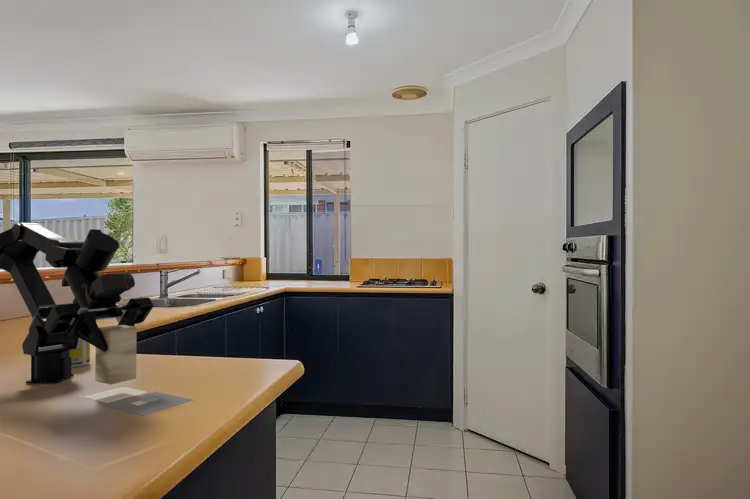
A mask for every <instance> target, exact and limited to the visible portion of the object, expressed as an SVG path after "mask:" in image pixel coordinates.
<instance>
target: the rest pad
mask: <svg viewBox="0 0 750 499" xmlns="http://www.w3.org/2000/svg"><path fill="white" fill-rule="evenodd" d="M145 394H149V391H145V390H141V389H136V388H131V387H127V386H121V387H117V388H114V389H110V390H105V391H101V392H97V393H93V394H88V395H85V396H83V398H85V399H90V400H94V401H97V402H102V403H105V404H111V403H115V402H119V401H122V400H126V399H130V398H134V397H137V396H141V395H145Z"/></svg>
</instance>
